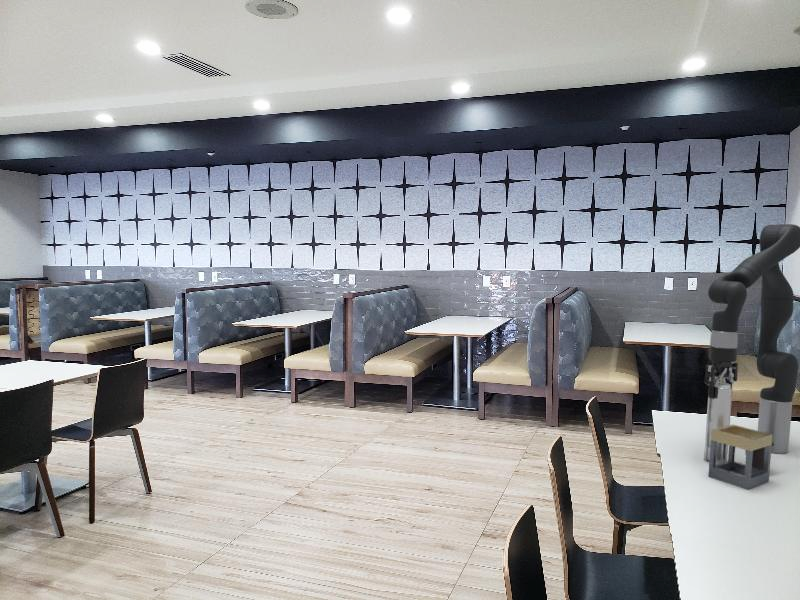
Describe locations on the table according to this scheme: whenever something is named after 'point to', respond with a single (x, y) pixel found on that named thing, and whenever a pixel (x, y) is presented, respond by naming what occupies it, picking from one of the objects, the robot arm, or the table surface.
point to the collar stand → (749, 442)
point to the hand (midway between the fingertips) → (719, 396)
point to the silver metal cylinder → (718, 420)
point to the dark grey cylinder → (759, 457)
